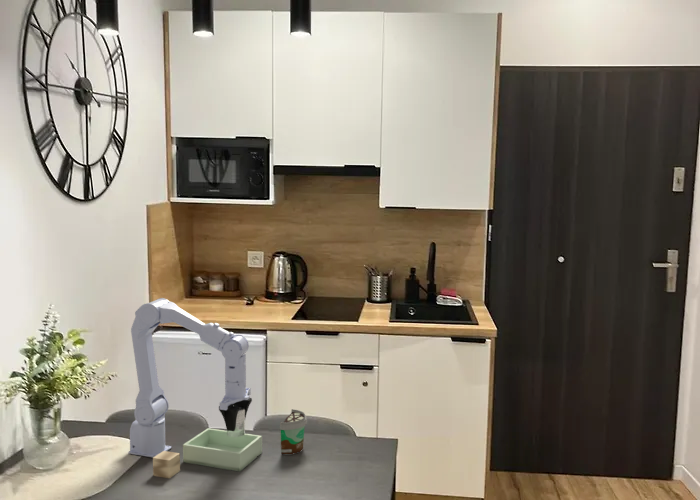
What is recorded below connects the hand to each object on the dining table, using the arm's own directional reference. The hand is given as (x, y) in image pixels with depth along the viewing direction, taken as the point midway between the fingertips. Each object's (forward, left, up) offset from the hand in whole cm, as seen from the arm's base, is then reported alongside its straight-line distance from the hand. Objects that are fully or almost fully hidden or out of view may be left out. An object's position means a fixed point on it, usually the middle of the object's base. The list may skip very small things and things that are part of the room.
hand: (235, 427), depth 194 cm
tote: (-4, 0, -9) cm, 10 cm away
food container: (+13, +13, -10) cm, 20 cm away
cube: (-13, -14, -10) cm, 22 cm away
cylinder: (0, 0, -2) cm, 2 cm away
